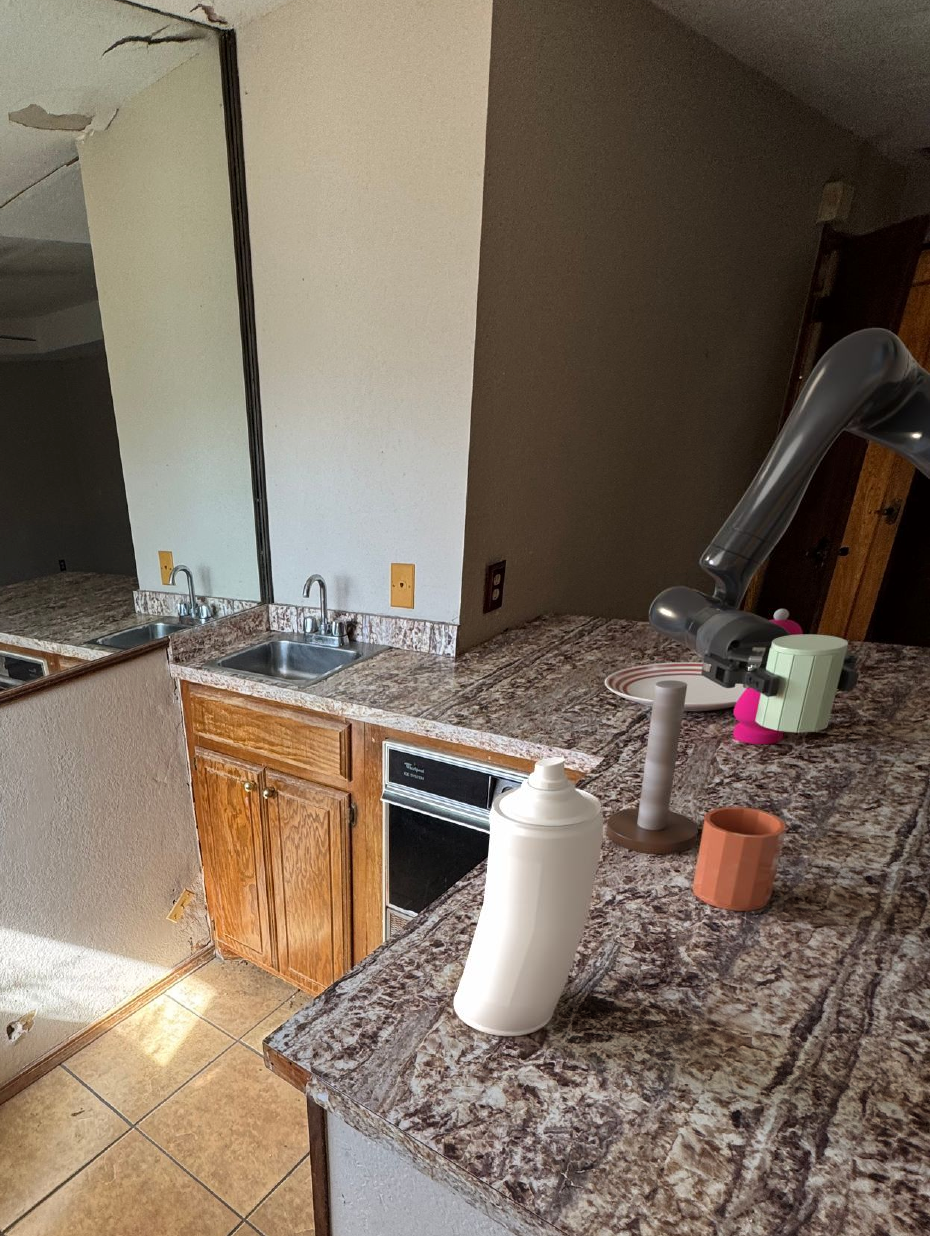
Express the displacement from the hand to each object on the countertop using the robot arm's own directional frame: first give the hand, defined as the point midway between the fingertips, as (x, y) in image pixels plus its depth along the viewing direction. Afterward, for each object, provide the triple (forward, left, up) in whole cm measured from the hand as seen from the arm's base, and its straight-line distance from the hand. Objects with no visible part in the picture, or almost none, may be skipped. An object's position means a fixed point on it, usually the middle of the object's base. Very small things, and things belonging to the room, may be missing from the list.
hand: (812, 685), depth 78 cm
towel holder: (+7, -11, -21) cm, 24 cm away
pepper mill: (-30, -25, -21) cm, 44 cm away
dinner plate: (-39, -45, -21) cm, 63 cm away
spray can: (+42, +6, -21) cm, 47 cm away
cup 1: (+11, +3, -21) cm, 24 cm away
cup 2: (-1, -2, -5) cm, 6 cm away
